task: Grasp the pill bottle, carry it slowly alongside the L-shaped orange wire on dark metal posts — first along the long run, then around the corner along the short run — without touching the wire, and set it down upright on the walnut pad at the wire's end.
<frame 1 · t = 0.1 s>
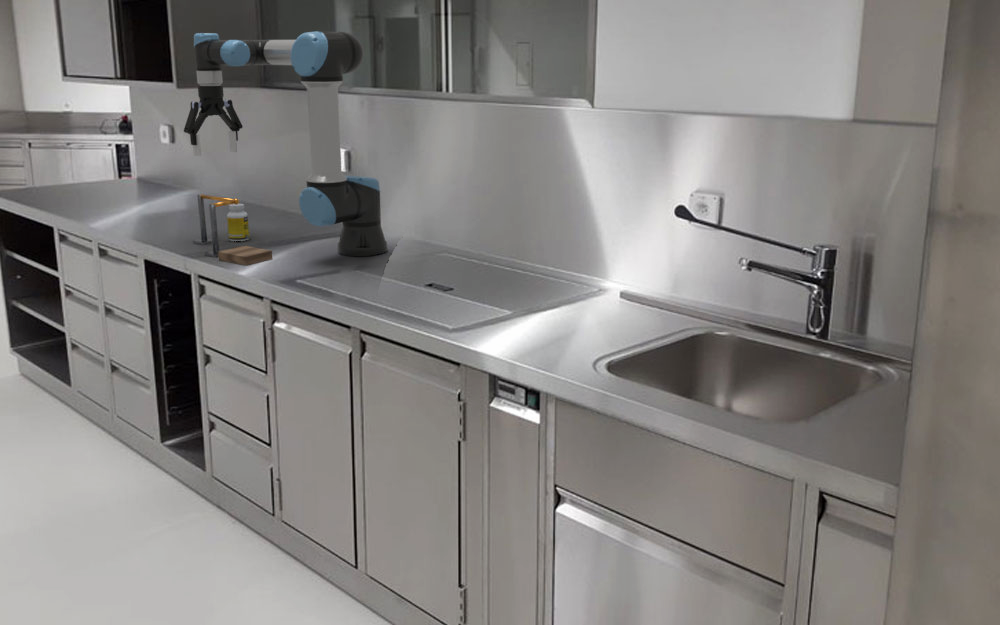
hand: (215, 153, 294), 28 cm above the countertop, fingers open, 13 cm apart
pad: (245, 259, 275), on the countertop
pill bottle: (239, 240, 301), on the countertop
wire: (240, 249, 287), on the countertop
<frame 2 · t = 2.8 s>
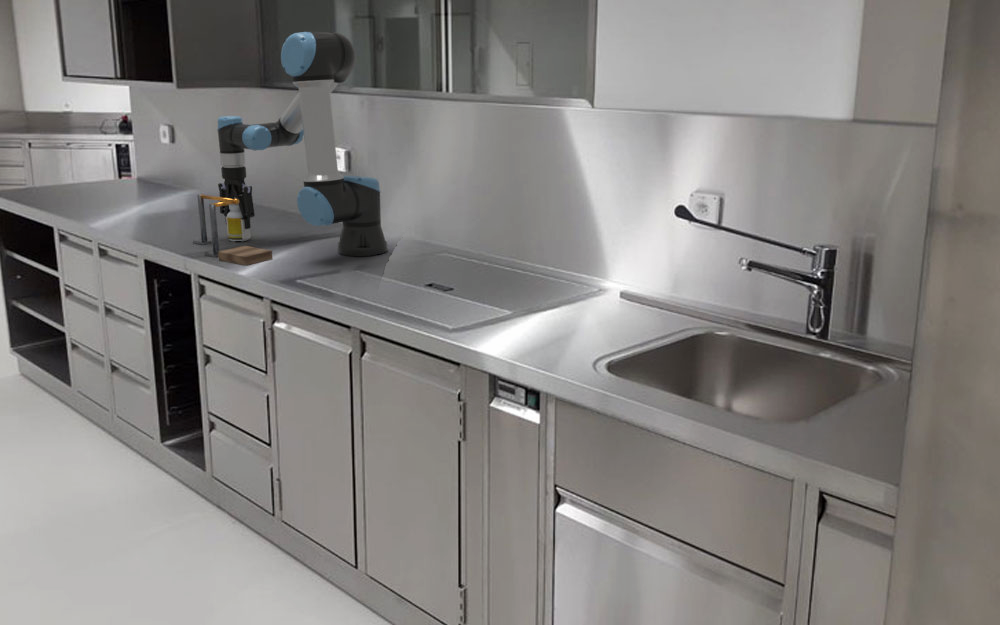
hand: (239, 237, 300), 1 cm above the countertop, fingers closed on pill bottle, 6 cm apart
pill bottle: (239, 240, 301), on the countertop, touching gripper
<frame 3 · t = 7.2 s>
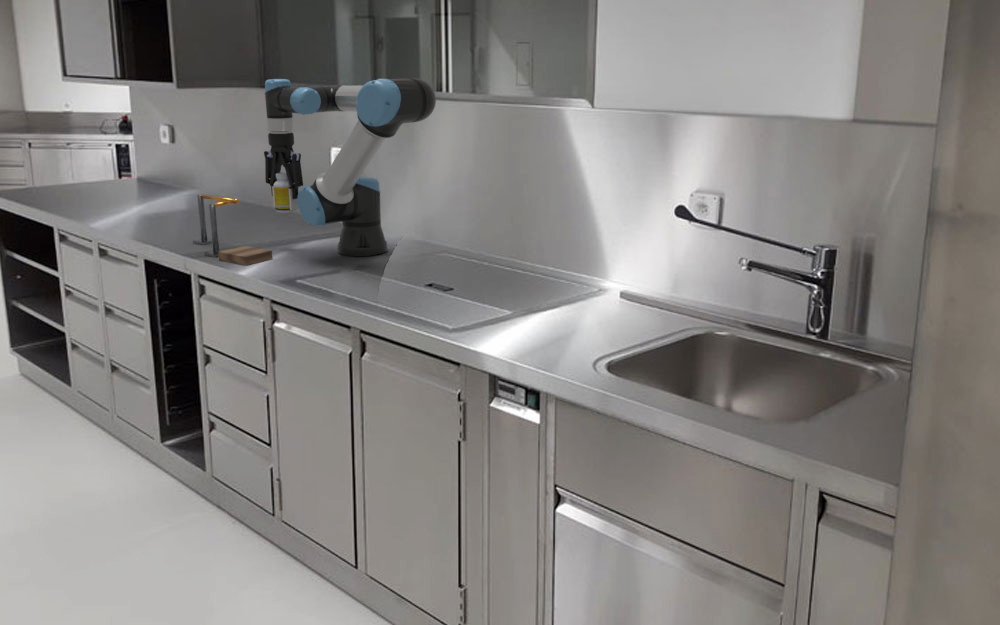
hand: (285, 208, 284), 13 cm above the countertop, fingers closed on pill bottle, 6 cm apart
pill bottle: (286, 211, 285), point 12 cm above the countertop, touching gripper
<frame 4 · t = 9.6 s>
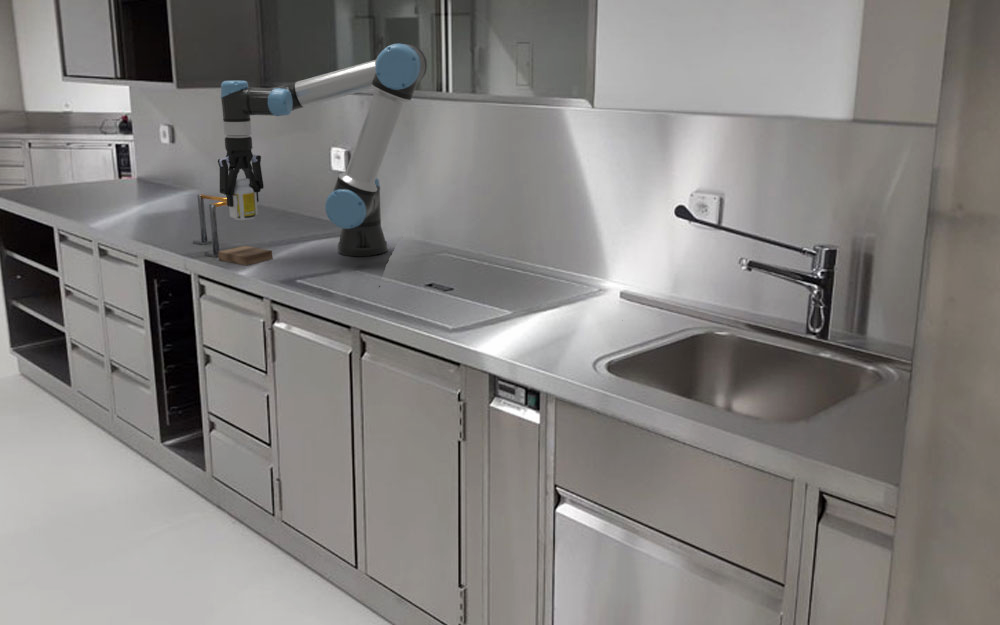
hand: (244, 215, 272), 13 cm above the countertop, fingers closed on pill bottle, 6 cm apart
pill bottle: (244, 219, 272), point 12 cm above the countertop, touching gripper
when the fingers open (5 cm above the countertop, at t = 11.7 s): pill bottle drops 1 cm, resting on pad.
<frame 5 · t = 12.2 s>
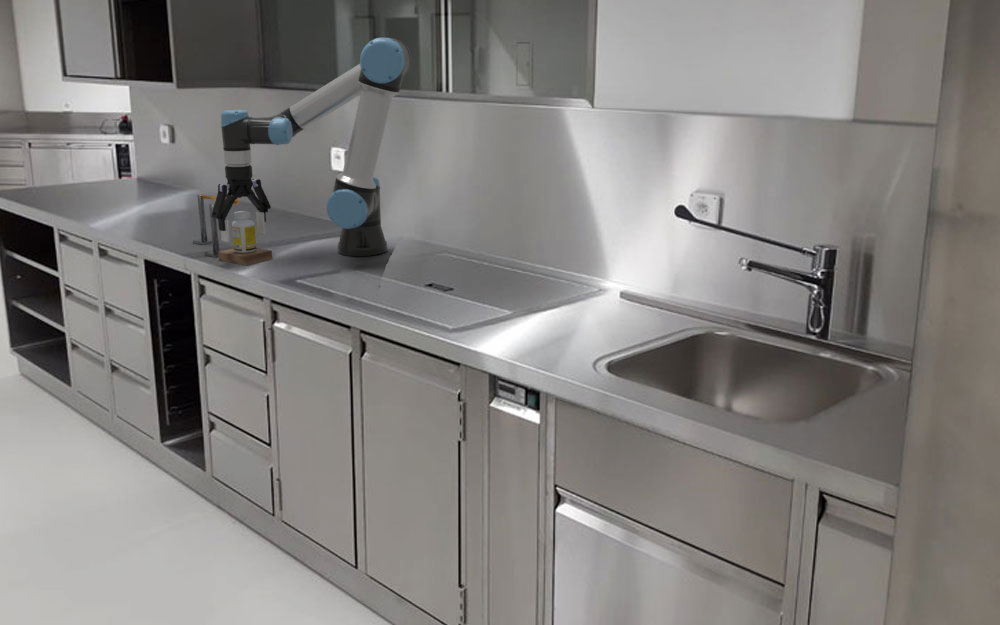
hand: (244, 237, 273), 7 cm above the countertop, fingers open, 13 cm apart
pill bottle: (245, 251, 274), point 2 cm above the countertop, touching pad
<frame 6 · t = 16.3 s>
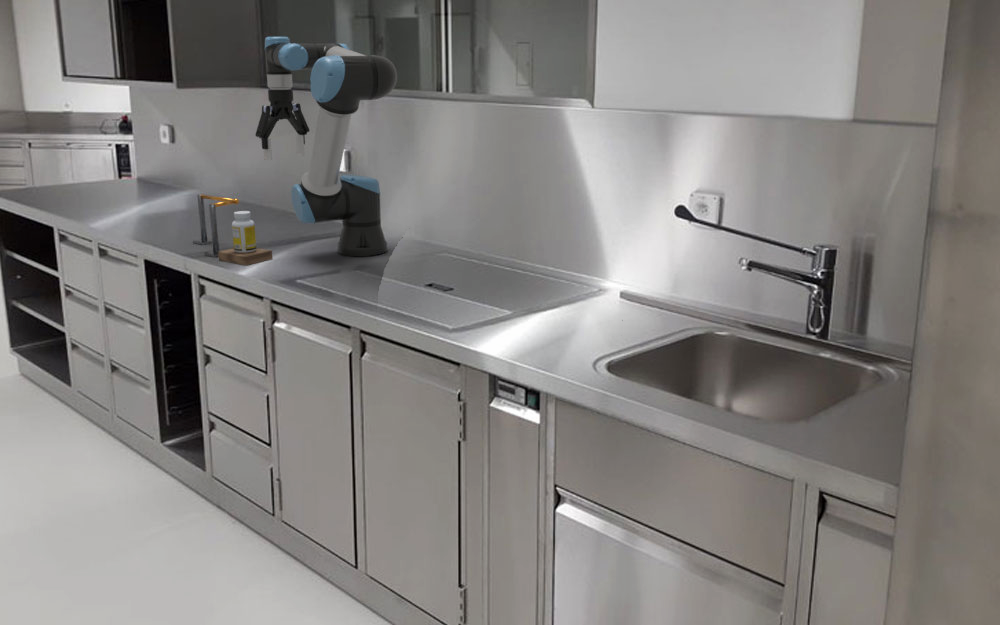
hand: (284, 157, 292), 27 cm above the countertop, fingers open, 13 cm apart
nothing on the countertop moved.
at the end: pill bottle inside the target area on the pad (0.1 cm from its centre), point 2.3 cm above the pad's base; pill bottle tilted 0°; pill bottle touching pad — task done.
